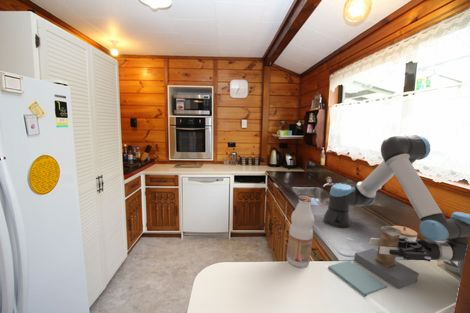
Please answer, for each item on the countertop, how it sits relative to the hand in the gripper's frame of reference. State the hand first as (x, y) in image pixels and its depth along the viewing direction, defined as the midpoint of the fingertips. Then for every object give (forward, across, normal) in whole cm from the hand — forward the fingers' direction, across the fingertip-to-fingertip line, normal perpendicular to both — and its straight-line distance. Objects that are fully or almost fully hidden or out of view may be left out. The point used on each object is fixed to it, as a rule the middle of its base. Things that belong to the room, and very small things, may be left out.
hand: (375, 245), depth 91 cm
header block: (-5, 0, -11) cm, 12 cm away
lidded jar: (-30, +25, -11) cm, 40 cm away
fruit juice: (+29, +3, -11) cm, 31 cm away
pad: (+9, -5, -11) cm, 15 cm away
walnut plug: (-5, 0, -10) cm, 12 cm away
